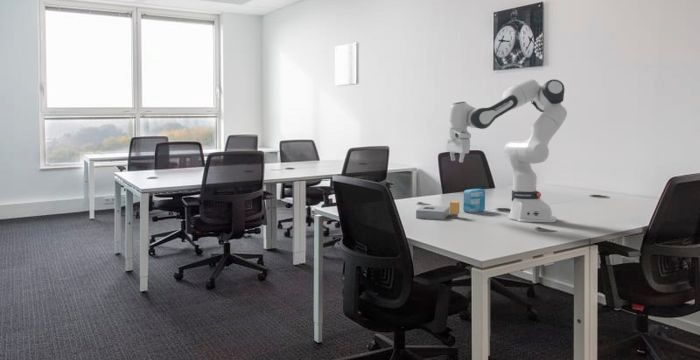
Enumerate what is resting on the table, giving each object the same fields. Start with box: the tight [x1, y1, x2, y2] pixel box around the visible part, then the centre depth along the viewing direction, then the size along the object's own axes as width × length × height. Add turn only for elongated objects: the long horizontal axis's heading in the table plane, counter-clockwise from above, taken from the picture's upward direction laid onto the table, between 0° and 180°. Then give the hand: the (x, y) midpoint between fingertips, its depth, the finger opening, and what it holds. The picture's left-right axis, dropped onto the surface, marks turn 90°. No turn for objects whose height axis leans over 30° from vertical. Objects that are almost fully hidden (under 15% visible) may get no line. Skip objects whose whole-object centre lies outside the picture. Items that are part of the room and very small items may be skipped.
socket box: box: [415, 205, 451, 221], centre depth 271 cm, size 14×16×4 cm
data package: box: [462, 188, 486, 214], centre depth 282 cm, size 12×4×12 cm, turn 124°
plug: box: [449, 200, 460, 219], centre depth 266 cm, size 4×4×8 cm
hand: (456, 161), depth 266 cm, fingers open, 8 cm apart
